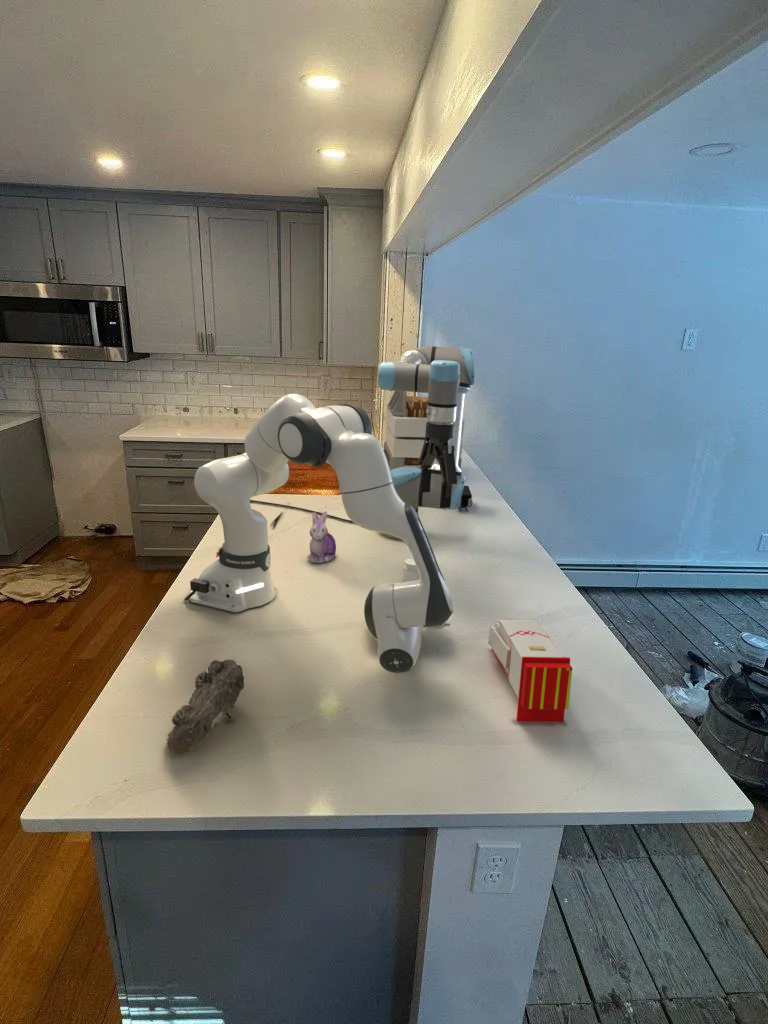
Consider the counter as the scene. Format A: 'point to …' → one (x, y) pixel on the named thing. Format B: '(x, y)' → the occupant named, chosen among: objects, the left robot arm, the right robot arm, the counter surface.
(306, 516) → the counter surface
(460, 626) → the counter surface
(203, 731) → the fossil
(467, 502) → the figurine character
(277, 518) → the feather
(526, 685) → the toy
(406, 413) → the transformer
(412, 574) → the jar
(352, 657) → the counter surface
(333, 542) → the figurine
